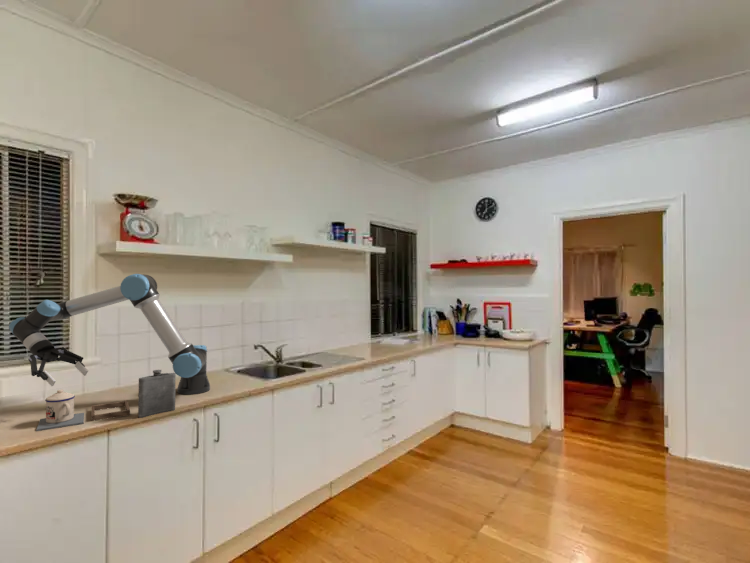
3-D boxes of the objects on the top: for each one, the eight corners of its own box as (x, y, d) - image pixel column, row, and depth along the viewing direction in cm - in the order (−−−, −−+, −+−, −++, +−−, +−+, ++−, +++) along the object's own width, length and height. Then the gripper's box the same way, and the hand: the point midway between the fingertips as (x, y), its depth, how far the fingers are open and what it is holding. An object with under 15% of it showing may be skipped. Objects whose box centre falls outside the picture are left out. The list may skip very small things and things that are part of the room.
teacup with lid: (41, 420, 157) (41, 390, 157) (68, 414, 165) (68, 385, 165) (54, 426, 151) (54, 395, 151) (82, 419, 158) (82, 390, 158)
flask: (136, 416, 165) (137, 372, 165) (172, 408, 176) (173, 367, 176) (139, 418, 163) (140, 373, 163) (176, 410, 173) (176, 368, 174)
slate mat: (84, 413, 167) (84, 412, 167) (83, 423, 156) (83, 422, 156) (40, 420, 159) (40, 418, 159) (36, 431, 148) (36, 429, 148)
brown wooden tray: (127, 405, 179) (127, 400, 179) (129, 415, 166) (130, 410, 166) (91, 410, 172) (91, 405, 172) (91, 421, 159) (91, 416, 159)
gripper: (65, 345, 186) (95, 375, 183) (2, 360, 163) (35, 395, 159) (71, 333, 185) (101, 363, 181) (9, 346, 161) (42, 381, 157)
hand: (70, 378), depth 170 cm, fingers open, 13 cm apart
